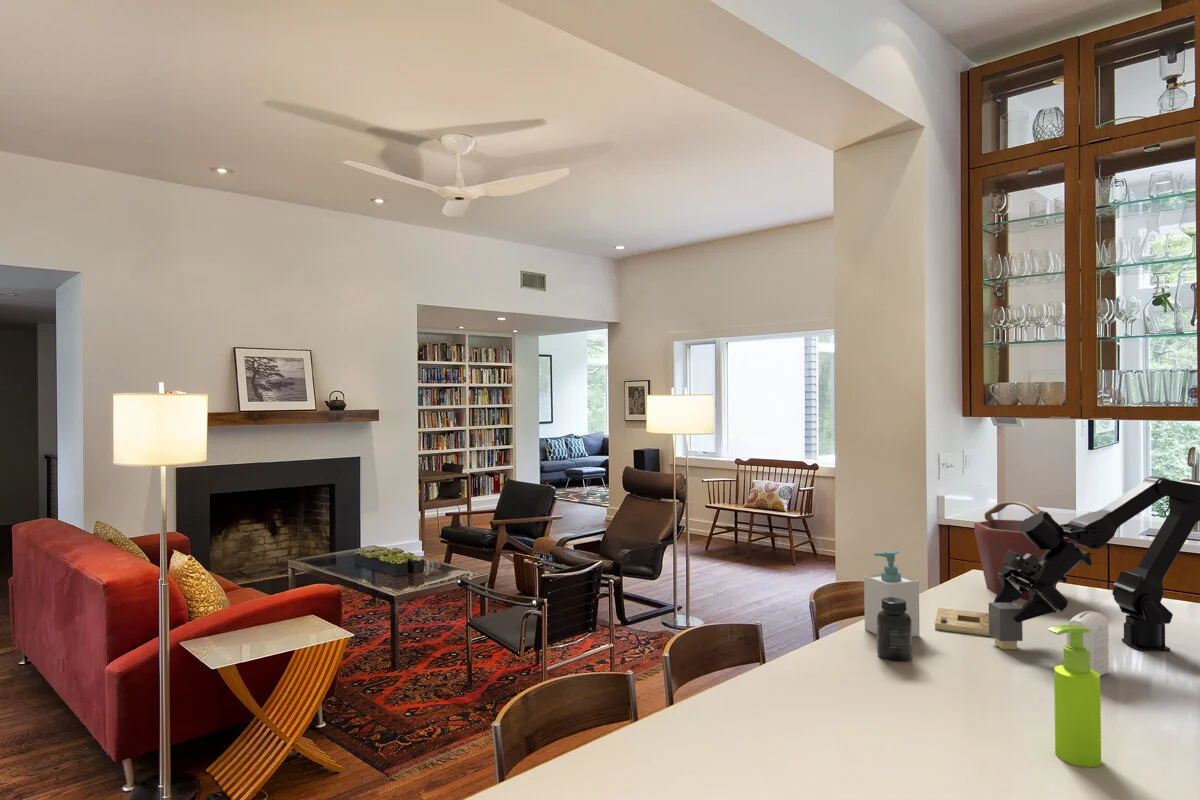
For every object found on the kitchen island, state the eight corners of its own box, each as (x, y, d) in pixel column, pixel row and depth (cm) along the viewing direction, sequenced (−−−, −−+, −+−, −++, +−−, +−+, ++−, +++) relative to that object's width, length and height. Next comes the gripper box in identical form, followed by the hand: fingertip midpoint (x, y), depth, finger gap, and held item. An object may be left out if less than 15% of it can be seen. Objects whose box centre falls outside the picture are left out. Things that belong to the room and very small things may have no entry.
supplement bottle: (875, 649, 160) (875, 595, 160) (909, 652, 158) (908, 596, 158) (878, 660, 153) (878, 603, 153) (914, 663, 151) (913, 605, 151)
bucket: (965, 580, 219) (964, 496, 219) (1045, 582, 216) (1044, 497, 216) (998, 603, 194) (997, 509, 194) (1088, 605, 191) (1087, 509, 191)
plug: (1010, 642, 163) (1010, 602, 163) (1022, 650, 158) (1022, 608, 158) (989, 642, 163) (988, 602, 163) (1000, 650, 158) (999, 608, 158)
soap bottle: (863, 629, 174) (862, 549, 174) (894, 625, 176) (893, 546, 176) (888, 640, 165) (887, 556, 165) (920, 636, 168) (919, 553, 168)
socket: (1001, 620, 179) (1001, 612, 179) (1002, 637, 166) (1002, 628, 166) (938, 613, 185) (938, 605, 185) (935, 629, 173) (934, 620, 173)
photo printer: (1088, 666, 149) (1087, 605, 149) (1112, 672, 145) (1111, 610, 145) (1063, 677, 143) (1063, 614, 143) (1088, 684, 139) (1087, 619, 139)
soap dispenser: (1040, 749, 114) (1038, 621, 114) (1081, 747, 114) (1080, 619, 114) (1067, 768, 108) (1065, 633, 108) (1111, 766, 109) (1109, 631, 109)
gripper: (1006, 531, 170) (958, 578, 170) (1053, 547, 151) (999, 600, 152) (1040, 564, 170) (992, 612, 170) (1092, 585, 151) (1038, 638, 151)
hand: (1003, 614), depth 161 cm, fingers open, 9 cm apart
